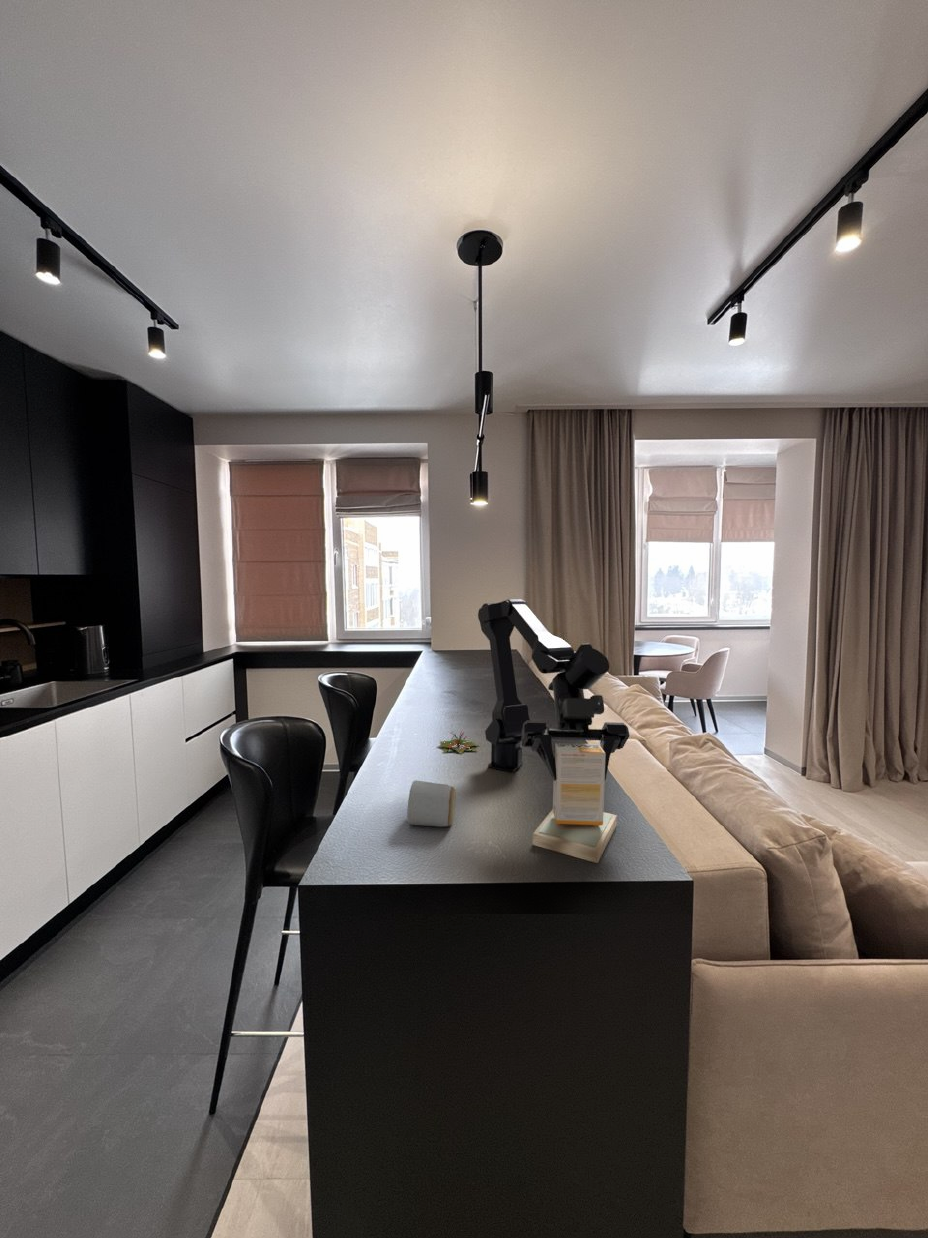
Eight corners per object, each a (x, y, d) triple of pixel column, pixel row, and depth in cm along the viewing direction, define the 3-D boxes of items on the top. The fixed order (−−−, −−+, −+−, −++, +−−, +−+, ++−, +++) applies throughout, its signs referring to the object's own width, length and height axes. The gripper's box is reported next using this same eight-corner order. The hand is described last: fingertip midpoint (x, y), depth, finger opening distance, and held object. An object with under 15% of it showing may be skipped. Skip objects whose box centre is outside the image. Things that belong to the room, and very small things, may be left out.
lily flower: (484, 756, 130) (484, 738, 130) (437, 757, 128) (437, 739, 128) (476, 740, 142) (477, 724, 141) (433, 742, 140) (433, 725, 140)
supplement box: (597, 813, 92) (600, 743, 91) (603, 826, 88) (606, 752, 86) (551, 811, 93) (554, 741, 92) (554, 824, 88) (557, 750, 87)
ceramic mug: (452, 834, 90) (453, 792, 89) (406, 832, 90) (406, 790, 90) (457, 808, 100) (458, 770, 100) (416, 806, 101) (416, 768, 100)
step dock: (532, 844, 87) (533, 832, 87) (558, 811, 99) (558, 800, 99) (597, 863, 82) (598, 850, 81) (616, 825, 94) (617, 814, 94)
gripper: (525, 677, 92) (530, 759, 82) (629, 679, 92) (647, 762, 82) (519, 707, 100) (523, 785, 91) (614, 710, 100) (629, 788, 90)
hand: (579, 780), depth 88 cm, fingers closed on supplement box, 8 cm apart
